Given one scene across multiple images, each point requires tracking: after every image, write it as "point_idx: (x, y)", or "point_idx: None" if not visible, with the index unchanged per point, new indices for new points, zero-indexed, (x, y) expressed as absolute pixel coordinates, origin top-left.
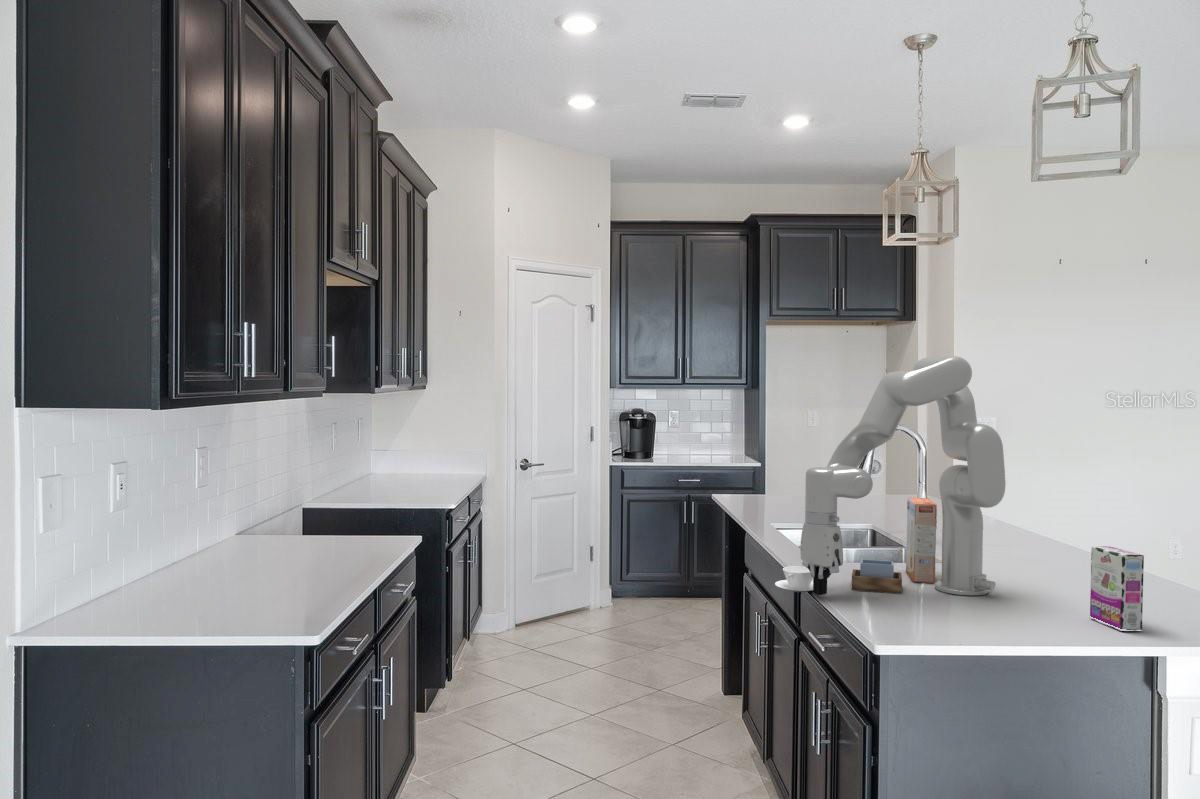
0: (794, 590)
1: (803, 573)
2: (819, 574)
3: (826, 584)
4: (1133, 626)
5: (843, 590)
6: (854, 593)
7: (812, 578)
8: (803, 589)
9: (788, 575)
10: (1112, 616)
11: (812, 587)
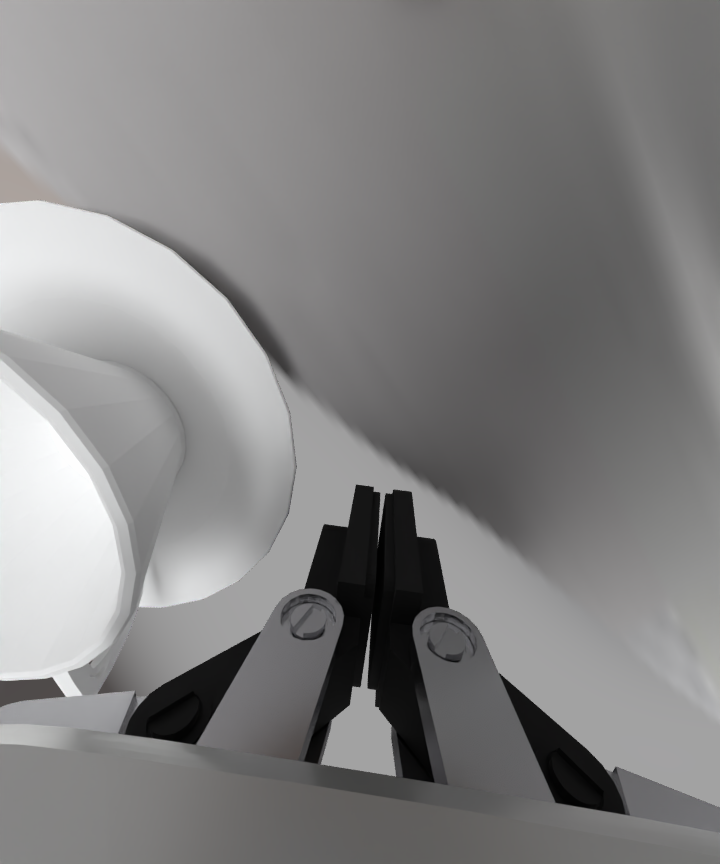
0: (164, 531)
1: (120, 633)
2: (410, 767)
3: (440, 583)
4: None
5: (349, 87)
6: (511, 115)
7: (132, 422)
8: (178, 469)
9: None
10: None
11: (157, 349)
